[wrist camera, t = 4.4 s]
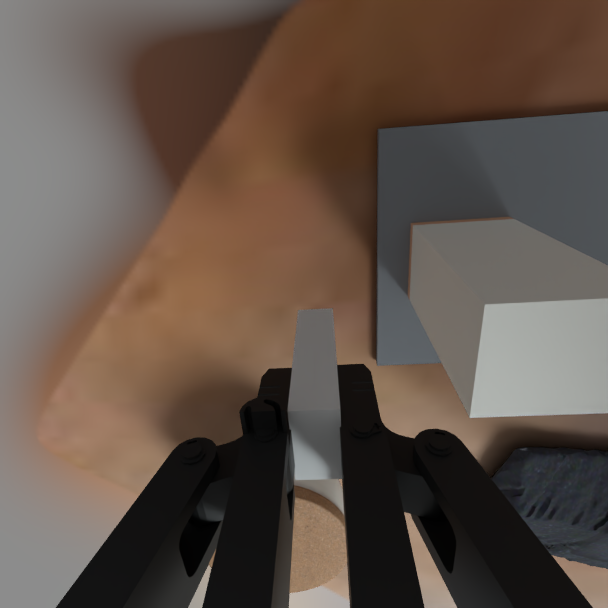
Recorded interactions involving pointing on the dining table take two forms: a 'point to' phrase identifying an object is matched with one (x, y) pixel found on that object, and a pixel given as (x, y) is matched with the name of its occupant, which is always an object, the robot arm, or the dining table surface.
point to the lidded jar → (316, 534)
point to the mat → (483, 198)
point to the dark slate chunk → (561, 499)
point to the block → (512, 316)
